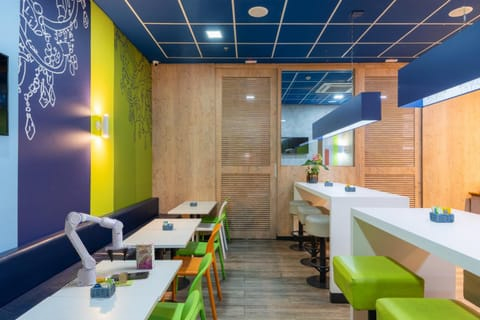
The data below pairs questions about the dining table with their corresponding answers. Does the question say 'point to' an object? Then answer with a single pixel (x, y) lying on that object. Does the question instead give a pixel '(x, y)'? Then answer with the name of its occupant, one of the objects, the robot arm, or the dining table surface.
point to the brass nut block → (123, 278)
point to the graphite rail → (132, 276)
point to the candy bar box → (145, 256)
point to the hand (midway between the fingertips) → (118, 260)
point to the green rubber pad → (124, 284)
